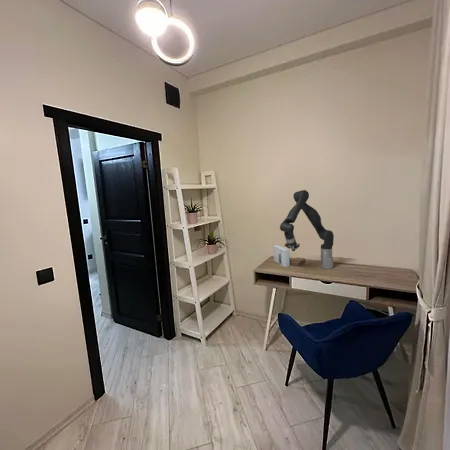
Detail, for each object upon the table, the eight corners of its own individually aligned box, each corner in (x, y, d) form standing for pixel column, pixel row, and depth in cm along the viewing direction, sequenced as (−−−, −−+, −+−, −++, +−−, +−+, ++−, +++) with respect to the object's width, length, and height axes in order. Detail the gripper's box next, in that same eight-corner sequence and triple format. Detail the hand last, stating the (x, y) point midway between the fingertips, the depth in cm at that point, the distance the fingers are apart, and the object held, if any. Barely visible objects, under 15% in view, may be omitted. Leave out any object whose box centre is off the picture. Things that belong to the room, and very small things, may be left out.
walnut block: (298, 262, 230) (305, 258, 242) (289, 261, 235) (297, 257, 247) (298, 267, 231) (305, 262, 243) (290, 265, 236) (297, 261, 248)
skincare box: (273, 261, 251) (273, 245, 249) (278, 260, 253) (278, 244, 251) (284, 267, 231) (284, 250, 229) (290, 266, 233) (289, 249, 231)
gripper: (299, 235, 209) (302, 247, 221) (283, 235, 215) (286, 246, 227) (298, 243, 205) (301, 254, 217) (281, 242, 211) (285, 253, 223)
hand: (293, 250), depth 222 cm, fingers closed
